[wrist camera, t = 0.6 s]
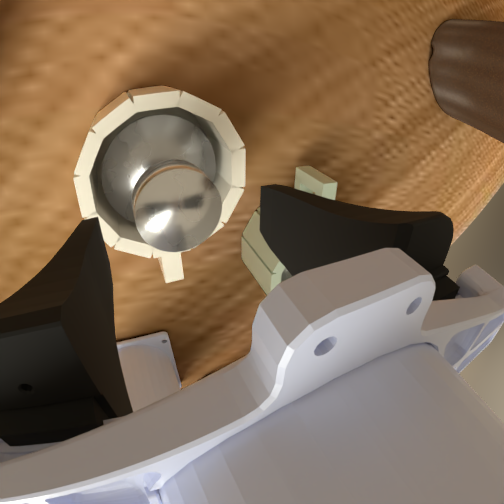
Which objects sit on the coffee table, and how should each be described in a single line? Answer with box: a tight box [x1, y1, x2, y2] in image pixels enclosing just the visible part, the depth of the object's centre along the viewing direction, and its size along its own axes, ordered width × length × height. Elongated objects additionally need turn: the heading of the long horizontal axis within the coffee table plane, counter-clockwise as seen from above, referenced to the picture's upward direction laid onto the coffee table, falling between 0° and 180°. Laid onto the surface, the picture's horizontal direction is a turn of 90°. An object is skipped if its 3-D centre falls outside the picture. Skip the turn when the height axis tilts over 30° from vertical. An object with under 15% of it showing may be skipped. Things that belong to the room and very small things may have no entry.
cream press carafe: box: [74, 85, 246, 283], centre depth 18 cm, size 12×9×6 cm
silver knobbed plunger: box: [101, 114, 222, 252], centre depth 15 cm, size 6×6×6 cm
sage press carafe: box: [242, 166, 337, 295], centre depth 26 cm, size 12×9×6 cm
